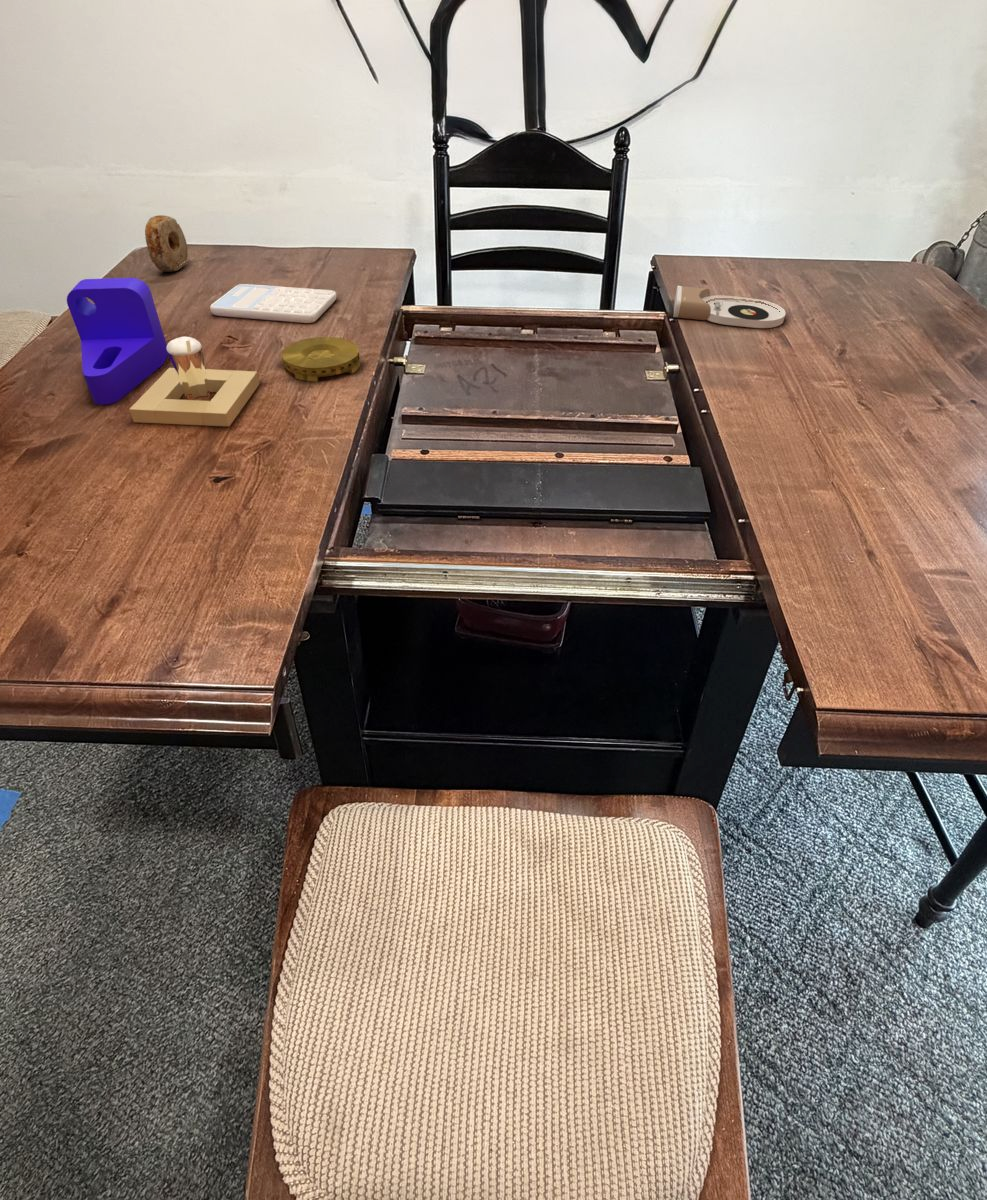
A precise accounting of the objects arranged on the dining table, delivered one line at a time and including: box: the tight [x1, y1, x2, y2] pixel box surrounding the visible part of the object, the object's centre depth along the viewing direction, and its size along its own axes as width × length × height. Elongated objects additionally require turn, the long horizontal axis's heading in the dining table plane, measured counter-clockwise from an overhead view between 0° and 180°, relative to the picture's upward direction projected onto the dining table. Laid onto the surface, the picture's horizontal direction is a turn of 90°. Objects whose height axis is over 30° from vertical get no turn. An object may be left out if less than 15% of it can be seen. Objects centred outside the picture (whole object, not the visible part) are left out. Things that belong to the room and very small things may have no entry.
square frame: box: [128, 367, 261, 428], centre depth 103 cm, size 14×14×2 cm
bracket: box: [66, 277, 169, 406], centre depth 105 cm, size 18×11×12 cm, turn 7°
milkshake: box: [166, 335, 212, 401], centre depth 100 cm, size 4×5×10 cm
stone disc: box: [144, 214, 189, 273], centre depth 144 cm, size 10×4×10 cm, turn 169°
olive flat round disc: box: [281, 336, 361, 382], centre depth 113 cm, size 12×12×2 cm
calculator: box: [209, 283, 338, 324], centre depth 132 cm, size 13×20×2 cm, turn 80°
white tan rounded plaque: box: [673, 285, 787, 329], centre depth 132 cm, size 12×3×20 cm
